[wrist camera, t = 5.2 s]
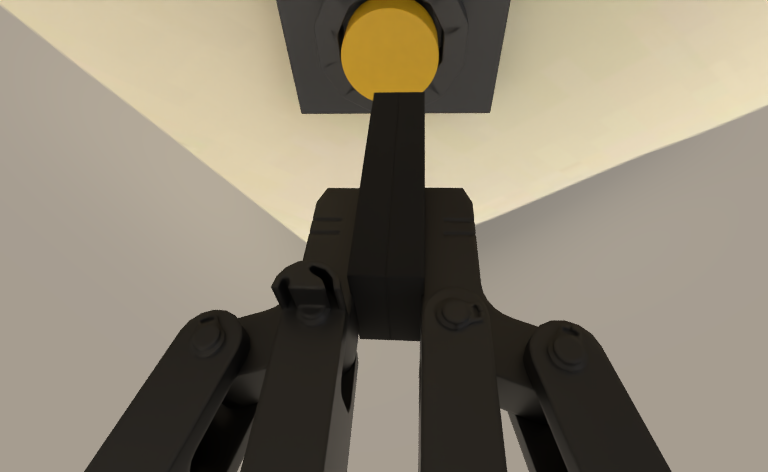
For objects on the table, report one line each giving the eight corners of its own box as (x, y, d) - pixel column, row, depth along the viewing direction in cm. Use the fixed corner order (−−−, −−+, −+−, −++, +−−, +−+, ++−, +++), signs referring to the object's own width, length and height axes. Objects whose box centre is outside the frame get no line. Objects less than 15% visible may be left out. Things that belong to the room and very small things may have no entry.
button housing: (518, -100, 19) (534, -78, 16) (486, 94, 27) (493, 130, 24) (269, -90, 20) (247, -68, 17) (307, 95, 27) (295, 130, 25)
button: (440, -8, 19) (442, 6, 18) (435, 86, 23) (436, 104, 21) (339, -6, 19) (334, 9, 18) (350, 87, 23) (346, 104, 22)
